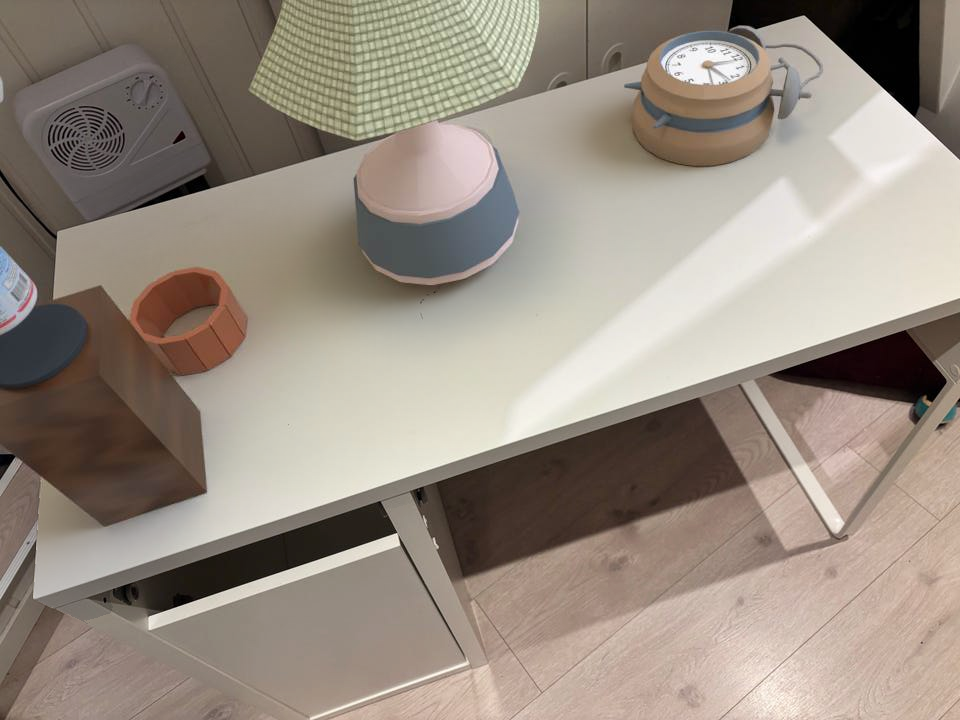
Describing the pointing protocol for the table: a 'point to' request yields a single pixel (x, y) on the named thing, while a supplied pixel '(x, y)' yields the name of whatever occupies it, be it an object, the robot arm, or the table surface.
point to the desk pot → (174, 300)
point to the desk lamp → (409, 118)
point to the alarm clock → (712, 96)
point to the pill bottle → (14, 293)
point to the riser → (108, 422)
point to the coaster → (41, 345)
